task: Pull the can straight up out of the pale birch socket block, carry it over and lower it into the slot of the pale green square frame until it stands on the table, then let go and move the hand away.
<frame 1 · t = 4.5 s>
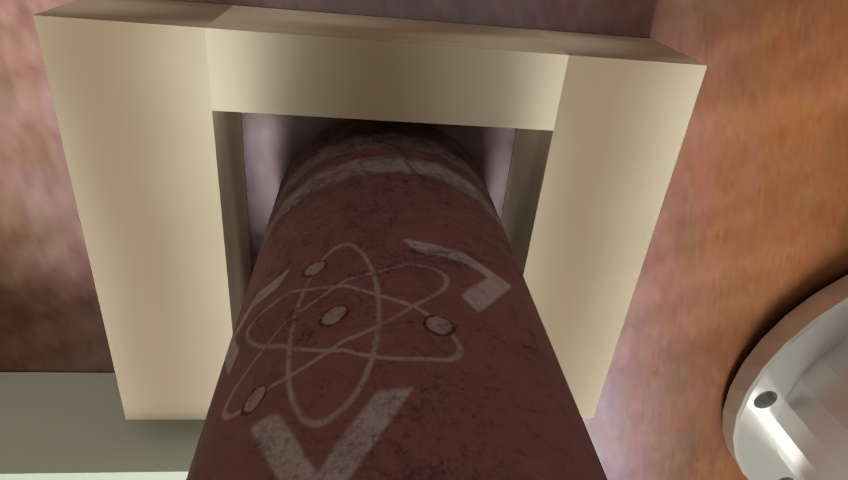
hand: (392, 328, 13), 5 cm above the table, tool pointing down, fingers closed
socket block: (377, 211, 17), on the table
can: (381, 209, 18), resting in socket block, touching gripper
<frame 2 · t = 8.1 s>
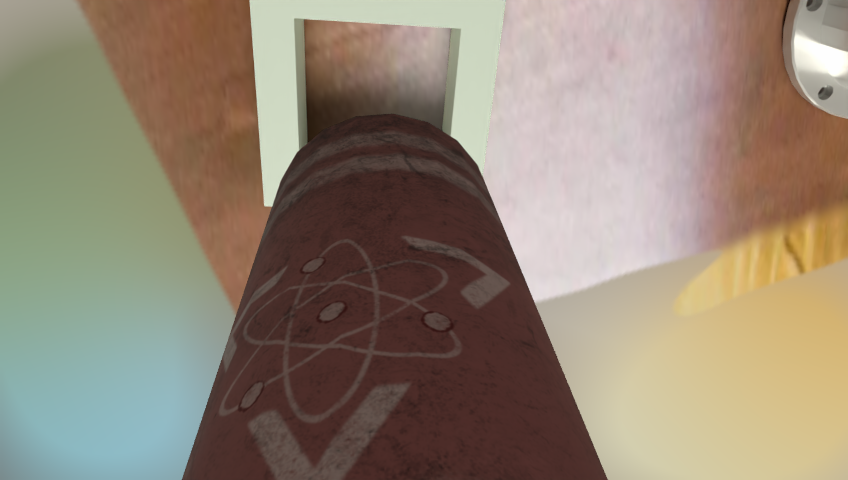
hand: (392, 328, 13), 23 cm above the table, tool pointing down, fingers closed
pale green square frame: (376, 84, 33), on the table
can: (381, 208, 18), point 18 cm above the table, touching gripper
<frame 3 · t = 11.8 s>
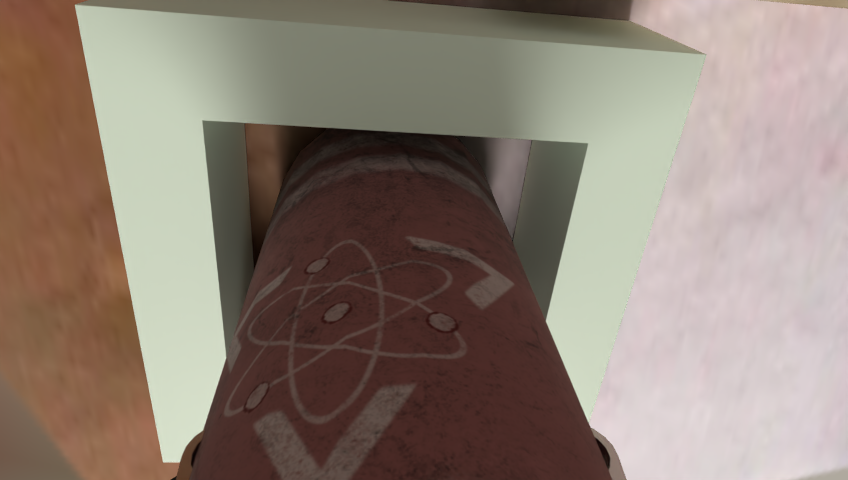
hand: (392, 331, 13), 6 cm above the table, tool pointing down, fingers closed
pale green square frame: (386, 215, 17), on the table
can: (383, 208, 18), resting in pale green square frame
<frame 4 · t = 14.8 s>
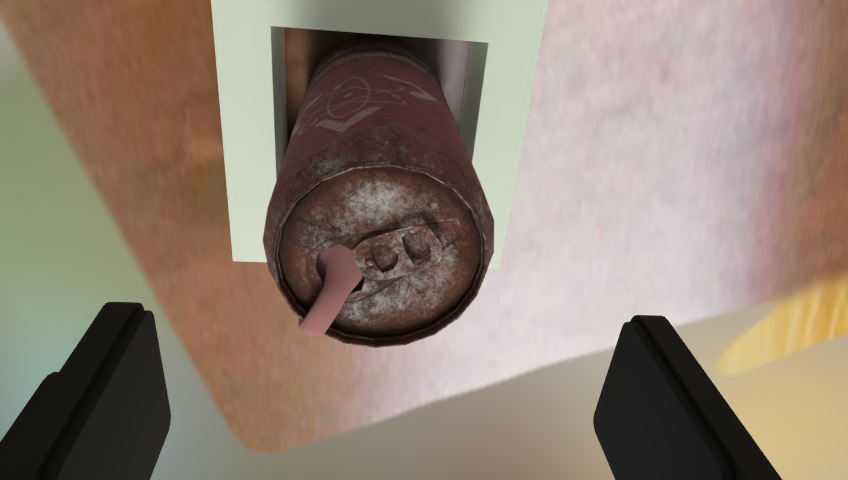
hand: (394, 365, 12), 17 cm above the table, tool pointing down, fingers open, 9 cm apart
pale green square frame: (375, 108, 27), on the table
can: (373, 104, 27), resting in pale green square frame
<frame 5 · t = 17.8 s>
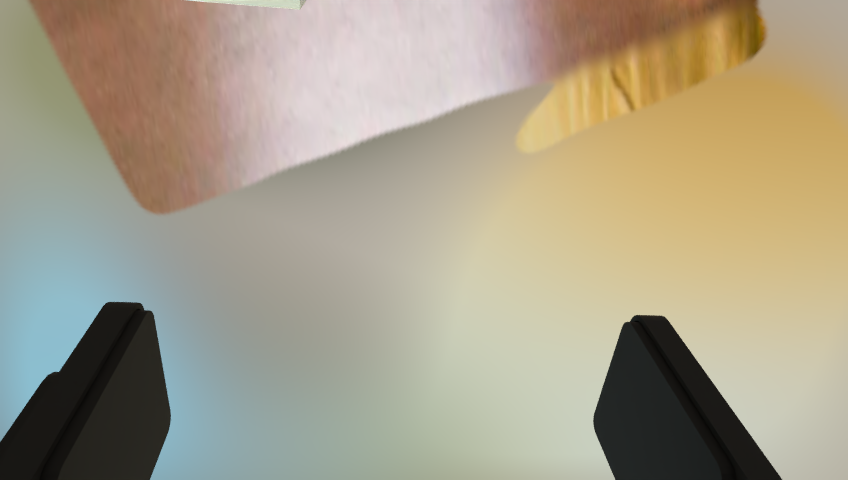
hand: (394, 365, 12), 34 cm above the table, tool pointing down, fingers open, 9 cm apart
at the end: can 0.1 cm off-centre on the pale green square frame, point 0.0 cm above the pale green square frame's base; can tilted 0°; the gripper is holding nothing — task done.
